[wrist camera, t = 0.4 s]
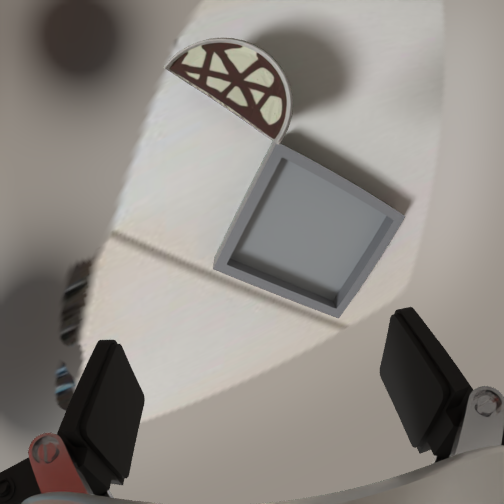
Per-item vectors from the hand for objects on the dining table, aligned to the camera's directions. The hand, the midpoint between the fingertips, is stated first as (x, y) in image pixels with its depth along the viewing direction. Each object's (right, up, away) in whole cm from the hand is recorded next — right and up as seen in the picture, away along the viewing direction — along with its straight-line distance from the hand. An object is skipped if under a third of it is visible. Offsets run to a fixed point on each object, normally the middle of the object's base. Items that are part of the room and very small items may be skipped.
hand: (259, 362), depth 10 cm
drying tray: (+7, +6, +28) cm, 30 cm away
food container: (-1, +22, +21) cm, 30 cm away
